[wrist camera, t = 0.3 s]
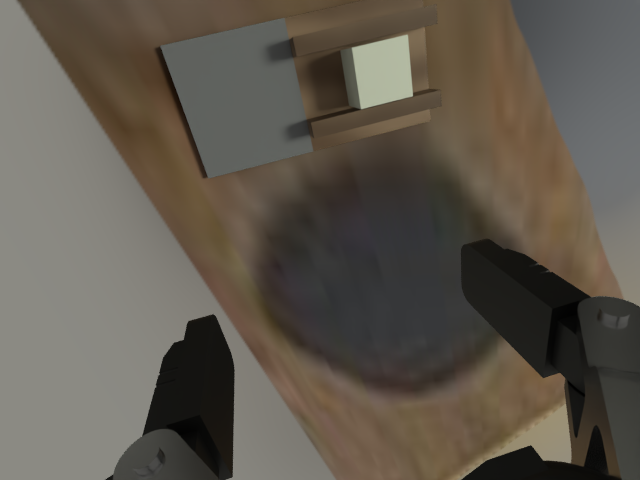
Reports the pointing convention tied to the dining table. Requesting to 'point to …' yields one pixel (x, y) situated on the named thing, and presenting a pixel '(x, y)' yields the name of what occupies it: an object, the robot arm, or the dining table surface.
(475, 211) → the dining table surface
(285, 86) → the pad
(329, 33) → the chute
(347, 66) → the pale block
